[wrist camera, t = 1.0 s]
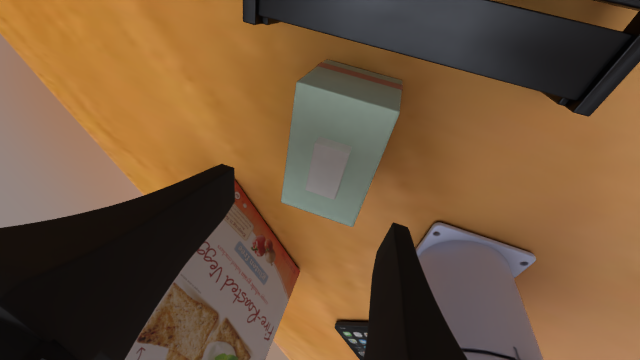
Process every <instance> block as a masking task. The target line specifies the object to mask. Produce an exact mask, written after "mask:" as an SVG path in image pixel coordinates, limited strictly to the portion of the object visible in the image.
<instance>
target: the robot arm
mask: <svg viewBox="0 0 640 360" xmlns="http://www.w3.org/2000/svg"><path fill="white" fill-rule="evenodd" d="M234 202H235V177H234V168H233V167H230V166H227V165H224V164H220V165H218V166H215V167H213V168H210V169H208V170H206V171H204V172H201V173H199V174H197V175H194V176H192V177H190V178H187V179H185V180H183V181H180V182H178V183H176V184H173V185H171V186H168V187H165V188H163V189H160V190H158V191H155V192H152V193H150V194H147V195H144V196H141V197H138V198H135V199H132V200H129V201H126V202H122V203H119V204H116V205H113V206H109V207H105V208H101V209H97V210H93V211H89V212H85V213H81V214H76V215H72V216H67V217H62V218H57V219H52V220H47V221H41V222H36V223H30V224H24V225H18V226H11V227H4V228H0V360H125V358H126V357H127V355H128V353H129V351H130V350H131V348H132V346H133V345H134V343H135V341H136V339H137V338H138V336H139V334H140V333H141V331H142V329H143V328H144V326H145V325H146V323H147V321H148V320H149V318H150V316H151V315H152V313H153V312H154V310H155V308H156V307H157V305H158V304H159V302H160V301H161V299H162V298H163V296H164V295H165V293H166V292H167V290H168V289H169V287H170V286H171V284H172V283H173V282H174V280H175V279H176V277H177V276H178V274H179V273H180V271H181V270H182V269H183V267H184V266H185V265H186V263H187V262H188V261H189V260H190V258H191V257H192V256H193V255H194V254H195V252H196V251H197V250H198V249H199V248H200V247H201V245H202V244H203V243H204V242H205V241H206V240H207V238H208V237H209V236H210V235H211V234H212V233H213V231H214V230H215V229H216V228H217V227H218V225H219V224H220V223H221V222H222V221H223V219H224V218H225V216H226V215H227V213H228V212H229V210H230V209H231V207H232V206H233V204H234ZM435 232H437V233H435ZM523 261H524V262H523ZM535 261H536V258H535V255H534V254H533V253H530V252H527V251H524V250H521V249H518V248H515V247H512V246H509V245H506V244H503V243H501V242H498V241H495V240H492V239H489V238H486V237H483V236H480V235H477V234H474V233H471V232H468V231H465V230H462V229H459V228H456V227H453V226H450V225H447V224H444V223H440V222H438V223H435V224H433V226H432V227H431V228H430V230H429V231H428V233H427V234H426V236H425V237H424V238H423V240H422V241H421V243H420V244H419V245H418V247H417V248H416V250H415V247H414V244H413V241H412V238H411V235H410V231H409V229H408V227H405V226H402V225H399V224H396V223H393V224H392V225H391V227H390V229H389V231H388V233H387V234H386V236H385V238H384V240H383V242H382V243H381V245H380V247H379V249H378V251H377V254H376V259H375V263H374V269H373V274H372V285H371V297H370V310H369V323H368V333H367V341H366V346H365V352H364V358H363V360H543V357H542V354H541V351H540V349H539V346H538V343H537V340H536V338H535V335H534V332H533V330H532V327H531V324H530V321H529V319H528V316H527V313H526V310H525V308H524V305H523V302H522V300H521V297H520V294H519V291H518V289H517V286H516V283H515V280H514V278H515V277H516V276H517V275H519V274H520V273H521V272H523V271H524V270H525V269H526V268H528V267H529V266H530V265H531V264H533V263H534V262H535Z"/></svg>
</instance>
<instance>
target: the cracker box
mask: <svg viewBox="0 0 640 360" xmlns="http://www.w3.org/2000/svg"><path fill="white" fill-rule="evenodd" d="M299 273H300V270H299V269H298V268H297V267H296V265H295V264H294V262H293V261H292V260H291V258H290V257H289V255H288V254H287V253H286V251H285V250H284V248H283V247H282V246H281V244H280V243H279V241H278V240H277V238H276V237H275V236H274V234H273V233H272V231H271V230H270V229H269V227H268V226H267V224H266V223H265V222H264V220H263V219H262V217H261V216H260V215H259V213H258V212H257V210H256V209H255V208H254V206H253V205H252V203H251V202H250V200H249V199H248V198H247V196H246V195H245V193H244V192H243V191H242V189H241V188H240V186H239V185H238V183H237V182H236V181H235V202H234V204H233V206H232V207H231V209H230V210H229V212H228V213H227V215H226V216H225V218H224V219H223V221H222V222H221V223H220V224H219V225H218V227H217V228H216V229H215V230H214V231H213V233H212V234H211V235H210V236H209V237H208V238H207V240H206V241H205V242H204V243H203V244H202V245H201V247H200V248H199V249H198V250H197V251H196V252H195V254H194V255H193V256H192V257H191V258H190V260H189V261H188V262H187V263H186V265H185V266H184V267H183V269H182V270H181V271H180V273H179V274H178V276H177V277H176V279H175V280H174V282H173V283H172V284H171V286H170V287H169V289H168V290H167V292H166V293H165V295H164V296H163V298H162V299H161V301H160V302H159V304H158V305H157V307H156V308H155V310H154V312H153V313H152V315H151V316H150V318H149V320H148V321H147V323H146V325H145V326H144V328H143V329H142V331H141V333H140V334H139V336H138V338H137V339H136V341H135V343H134V345H133V346H132V348H131V350H130V351H129V353H128V355H127V357H126V358H125V360H265V359H266V356H267V354H268V351H269V349H270V346H271V344H272V341H273V339H274V336H275V333H276V331H277V329H278V326H279V323H280V321H281V318H282V316H283V313H284V311H285V308H286V306H287V303H288V301H289V298H290V296H291V293H292V291H293V288H294V285H295V283H296V280H297V278H298V275H299Z"/></svg>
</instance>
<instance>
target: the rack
mask: <svg viewBox="0 0 640 360" xmlns="http://www.w3.org/2000/svg"><path fill="white" fill-rule="evenodd" d="M593 1H597V2H602V3H606V4H611V5H615V6H619V7H624V8H628V9H632V10H637V11H639V12H638V13H637V14H636V16H635V17H634V18H633V19H632V21H631V22H630V23H629V24H628V25H627V27H626V28H625V29H624V30H623V31H617V30H613V29H609V28H605V27H601V26H596V25H592V24H588V23H584V22H579V21H575V20H571V19H567V18H563V17H558V16H554V15H550V14H546V13H542V12H537V11H533V10H529V9H525V8H521V7H516V6H512V5H508V4H504V3H499V2H495V1H491V0H243V22H246V23H249V24H253V25H257V24H265V25H270V24H275V23H279V22H284V23H288V24H292V25H295V26H299V27H303V28H307V29H310V30H314V31H318V32H321V33H325V34H329V35H333V36H336V37H340V38H344V39H347V40H351V41H355V42H359V43H362V44H366V45H370V46H373V47H377V48H381V49H385V50H388V51H392V52H396V53H399V54H403V55H407V56H411V57H414V58H418V59H422V60H425V61H429V62H433V63H437V64H440V65H444V66H448V67H451V68H455V69H459V70H463V71H466V72H470V73H474V74H477V75H481V76H485V77H488V78H492V79H496V80H500V81H503V82H507V83H511V84H514V85H518V86H522V87H526V88H529V89H533V90H537V91H540V92H542V93H543V94H545V95H546V96H547V97H549V98H550V99H552V100H553V101H554V102H556V103H557V104H559V105H563V106H565V107H566V108H568V109H569V110H571V111H572V112H574V113H577V114H581V115H585V116H590V115H591V114H592V113H593V112H594V111H595V110H596V109H597V108H598V106H599V105H600V104H601V103H602V102H603V101H604V100H605V99H606V98H607V97H608V96H609V94H610V93H611V92H612V91H613V90H614V89H615V88H616V87H617V86H618V85H619V84H620V82H621V81H622V80H623V79H624V78H625V77H626V76H627V75H628V74H629V73H630V72H631V70H632V69H633V68H634V67H635V66H636V65H637V64H638V63H639V62H640V0H593Z"/></svg>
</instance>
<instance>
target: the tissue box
mask: <svg viewBox="0 0 640 360" xmlns="http://www.w3.org/2000/svg"><path fill="white" fill-rule="evenodd" d="M402 88H403V85H402V80H399V79H395V78H392V77H388V76H385V75H381V74H377V73H374V72H370V71H367V70H363V69H360V68H356V67H352V66H349V65H345V64H342V63H338V62H335V61H331V60H328V59H327V60H325V61H324V62H321V63H320V64H318V65H317V67H316V68H314V69H313V70H312V71H310V72H309V73H308V74H306V75H305V76H304V77H303V78H301V79H300V80H299V81H297V83H296V90H295V97H294V105H293V113H292V121H291V128H290V136H289V144H288V152H287V160H286V167H285V175H284V183H283V191H282V198H281V202H282V203H285V204H288V205H291V206H293V207H296V208H299V209H302V210H305V211H308V212H311V213H313V214H316V215H319V216H322V217H325V218H328V219H331V220H333V221H336V222H339V223H342V224H345V225H348V226H350V227H353V226H354V223H355V221H356V218H357V216H358V214H359V211H360V209H361V206H362V204H363V201H364V199H365V196H366V194H367V192H368V189H369V187H370V184H371V182H372V179H373V177H374V175H375V172H376V170H377V167H378V165H379V162H380V160H381V157H382V155H383V153H384V150H385V148H386V145H387V143H388V140H389V138H390V136H391V133H392V131H393V128H394V126H395V123H396V121H397V118H398V116H399V114H400V103H401V93H402Z"/></svg>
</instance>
